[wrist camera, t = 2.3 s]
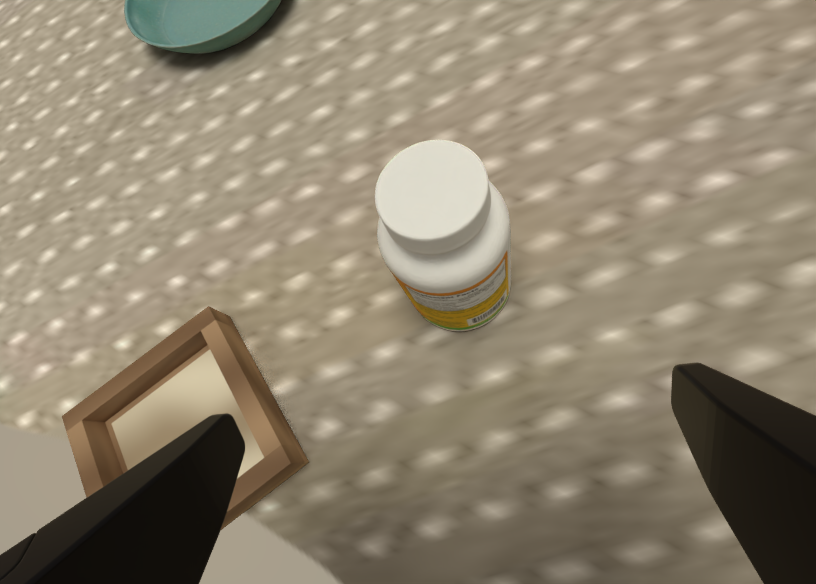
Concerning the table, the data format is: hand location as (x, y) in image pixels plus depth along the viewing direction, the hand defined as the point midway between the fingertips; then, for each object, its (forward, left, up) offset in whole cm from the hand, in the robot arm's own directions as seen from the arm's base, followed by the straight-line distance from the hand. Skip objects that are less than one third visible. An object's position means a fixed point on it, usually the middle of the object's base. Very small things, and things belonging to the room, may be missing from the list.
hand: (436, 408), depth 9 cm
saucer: (+27, +29, -14) cm, 42 cm away
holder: (-5, +15, -13) cm, 21 cm away
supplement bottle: (+7, +3, -13) cm, 16 cm away
